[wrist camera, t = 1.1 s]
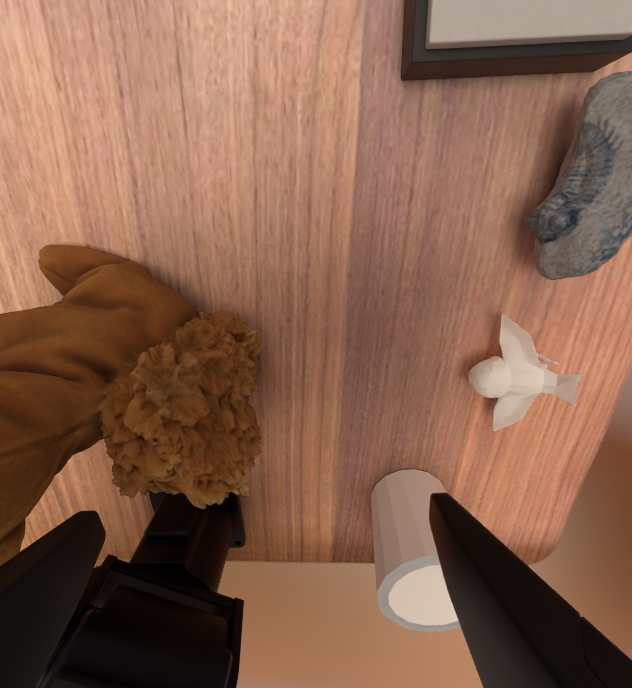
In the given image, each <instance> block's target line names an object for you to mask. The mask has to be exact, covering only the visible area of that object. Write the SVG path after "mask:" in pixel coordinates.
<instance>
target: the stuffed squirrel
mask: <svg viewBox="0 0 632 688" xmlns="http://www.w3.org/2000/svg"><path fill="white" fill-rule="evenodd" d="M39 257H40V258H39V261H38V263H39V267H40V269H41V271H42V272H43V274H44V275H45V276H46V278H47V279H48V280H49V281H50V282H51V283H52V285H53V286H54V287H55V288H56V289H57V290H58V291H59V292H60V293H61V294H62V295H63V298H62V301H59V302H56V303H55V304H54V305H51V306H45V307H38V308H33V309H27V310H22V311H17V312H9V313H3V314H0V566H1V565H2V564H4V563H5V562H7V561H8V560H9V559H11V558H12V557H14V556H15V555H17V554H18V553H20V548H21V544H22V540H23V538H24V535H25V518H26V517H27V516H28V515H29V514H30V512H31V511H32V509H33V508H34V507H35V505H36V504H37V503H38V501H39V500H40V498H41V497H42V495H43V494H44V492H45V491H46V489H47V488H48V486H49V485H50V483H51V481H52V479H53V477H54V476H55V475H56V474H57V473H59V472H60V471H61V470H62V468H63V467H64V466H65V464H66V463H67V461H68V460H69V459H70V458H71V456H72V455H74V454H76V453H79V452H82V451H84V450H86V449H88V448H90V447H91V446H93V445H94V444H95V443H97V442H98V441H99V440H101V439H105V442H106V447H107V451H106V453H107V454H108V455H109V457H110V458H112V459H113V460H114V465H113V466H112V472H113V474H112V475H114V479H112V481H113V484H115V485H116V487H117V486H119V487H120V495H121V496H122V495H125V496H128V497H130V499H131V498H133V497H134V496H135V495H136V493H137V492H138V491H139V490H140V491H141V492H142V494H144V495H147V494H149V491H148V489H149V490H150V491H151V492H153V493H154V494H155V493H159V492H165V491H167V493H170V492H171V494H173V495H174V494H178V493H180V492H181V493H184V494H185V495H186V497H187V498H188V500H189V501H190V502H191V503H192V504H193V505H194V506H196V507H198V508H201V509H205V508H206V504H208V505H209V506H210V505H213V504H214V503H219V504H221V503H223V502H222V501H224V499H225V497H227V498H228V495H229V493H226V492H233V493H235V494H237V495H239V494H242V495H243V496H244V497H246V496H250V493H249V488H250V487H249V484H248V483H249V480H250V473H249V471H251V470H250V468H251V467H257V466H256V465H255V463H254V461H253V460H254V459H255V458H254V457H257V456H258V455H259V454H260V453H261V452H262V450H261V449H260V445H261V442H260V440H261V437H260V433H259V431H260V427H259V426H258V425H257V419H256V414H255V410H254V408H253V407H252V406H251V405H250V404H249V403H248V401H249V396H250V397H251V395H252V393H253V391H258V390H259V389H258V388H257V387H256V386H255V385H256V383H257V379H256V374H257V372H256V370H257V365H256V363H255V362H254V361H257V358H256V357H257V356H258V355H259V354H260V352H261V351H263V350H262V349H260V345H261V343H259V342H258V341H259V338H260V337H259V334H258V333H259V329H257V331H252V329H251V328H249V327H248V325H247V324H246V323H245V322H242V320H241V319H240V318H238V317H237V316H238V313H236V314H231V313H228V312H226V311H222V312H219V311H218V312H216V313H215V314H214V315H213V316H212V315H211V314H207V313H205V312H203V313H202V311H201V312H200V313H199V314H200V317H199V315H198V313H197V311H196V310H195V309H194V308H193V307H192V306H191V305H190V304H189V303H188V302H186V301H185V300H184V299H182V298H181V297H180V296H179V295H177V294H176V293H175V292H174V291H172V290H171V289H169V288H168V287H166V286H165V285H163V284H162V283H161V282H160V281H158V280H157V279H155V278H154V277H153V276H152V275H151V274H150V273H148V272H147V271H146V270H145V269H144V268H143V267H142V266H140V265H139V264H137V263H134V262H132V261H129V260H127V259H123V258H120V257H117V256H115V255H111V254H107V253H104V252H101V251H97V250H93V249H88V248H84V247H77V246H65V245H47V246H45V247H43V248H42V249H41V250H40V252H39ZM158 489H159V490H158Z"/></svg>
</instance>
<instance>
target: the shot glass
mask: <svg viewBox="0 0 632 688" xmlns="http://www.w3.org/2000/svg"><path fill="white" fill-rule="evenodd" d="M442 492H445V493H446V491H445V489H444V488H443V486H442V484H441V482H440V481H439V480H438V479H437V478H436V477H434V476H433V475H431V474H430V473H428V472H424V471H420V470H416V469H410V470H399V471H396V472H394V473H391V474H389V475H386V476H385V477H384V478H383V479H381V480H380V481H379V482H378V483H377V484H376V485H375V487H374V489H373V491H372V493H371V512H372V527H373V541H374V556H375V569H376V570H375V571H376V584H377V600H378V607H379V609H380V610H381V611H382V612H383V614H384V615H385V617H386V618H387V619H388V620H390V621H392V622H393V623H395V624H397V625H399V626H401V627H402V628H406V629H411V630H416V631H421V632H437V631H449V630H452V629H455V628H459V627H461V626H460V623H459V621H458V618H457V615H456V613H455V610H454V607H453V604H452V602H451V599H450V596H449V593H448V590H447V587H446V583H445V580H444V576H443V572H442V569H441V565H440V561H439V557H438V554H437V550H436V546H435V542H434V539H433V535H432V531H431V527H430V523H429V506H430V496H431V494H432V493H442Z"/></svg>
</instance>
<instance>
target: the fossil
mask: <svg viewBox="0 0 632 688" xmlns="http://www.w3.org/2000/svg"><path fill="white" fill-rule="evenodd" d="M525 224H526V227H527V228H529V229H531V230H533V231H535V236H536V239H535V246H534V252H535V253H534V259H535V266H536V267H535V268H536V269H537V271H538V272H539V273H540V274H541V275H542V276H543V277H545V278H547V279H550V280H556V279H563V278H567V277H576V276H583V275H587V274H589V273H591V272H593V271H595V270H598V269H599V268H600V267H601V266H602V265H603V264H605V263H606V262H608V261H609V259H611V258H613V257H614V256H615V255H616V254H617V253H618V251H619V249H620V248H621V246H622V245H623V243H624V242H625V241H626V240H627V239H628V238H629V237H630V236H631V235H632V72H631V71H627V72H619V73H614V74H611V75H609V76H607V77H605V78H603V79H601V80H600V81H598V82H597V83H596V84H595V85H594V86H593V87H591V88H590V89H589V90H588V92H587V94H586V97H585V100H584V103H583V107H582V108H581V110H580V112H579V115H578V118H577V122H576V126H575V131H574V137H573V140H572V142H571V146H570V147H569V149H568V152H567V154H566V156H565V158H564V161H563V163H562V165H561V169H560V172H559V175H558V178H557V180H556V184H555V186H554V188H553V190H552V191H551V192H550V194H549V195H548V197H547V198H546V199H545V200H544V201H543V202H542V203H541V204H540V205H539V206H538V207H536V208H535V209H534V211H533V213H532V215H529V216H527V217H526V218H525Z"/></svg>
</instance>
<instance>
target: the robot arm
mask: <svg viewBox="0 0 632 688" xmlns="http://www.w3.org/2000/svg"><path fill="white" fill-rule="evenodd" d="M158 490H159V489H158ZM148 491H149V497H150V500H151V503H152V507H153V510H154V515H153V517H152V519H151V521H150V522H149V524H148V526H147V528H146V530H145V531H144V536H143V538H142V540H141V541H140V543H139V545H138V547H137V549H136V551H135V552H134V554H133V556H132V558H131V560H130V562H129V563H128V562H125V561H122V560H119V559H117V557H116V556H113V555H111V554H108V556H107V557H106V559H105V560H104V562H103V563H102V565H101V566H97V567H96V568H94V566H95V563H96V561H97V558H98V556H99V554H100V551H101V549H102V546H103V544H104V541H105V536H106V533H105V529H104V527H103V524H102V522H101V520H100V517H99V515H98V513H97V512H96V511H80V512H78V513H76V514H74V515H73V516H72V517H70V518H69V519H67V520H66V521H64V522H63V523H61V524H60V525H59V526H57V527H56V528H54V529H53V530H51V531H50V532H48V533H47V534H46V535H44V536H43V537H41V538H40V539H38V540H37V541H35V542H34V543H33V544H31V545H30V546H28V547H27V548H25V549H24V550H22V551H21V552H20V553H18V554H17V555H15V556H14V557H12V558H11V559H9V560H8V561H7V562H5V563H4V564H2V565H1V566H0V688H236V685H237V679H238V673H239V662H240V648H241V647H240V646H241V632H242V620H243V605H244V600H241V599H238V598H235V599H233V598H230V597H227V596H224V595H221V594H218V593H217V590H218V587H219V583H220V579H221V575H222V571H223V568H224V564H225V561H226V557H227V553H228V550H229V548H240V547H243V546H244V544H245V540H246V538H245V532H244V525H243V519H242V513H241V507H240V501H239V495H237V494H235V493H233V492H226V493H229V495H228V498H227V497H225V499H224V501H222V502H223V503H221V504H219V503H214V504H213V505H210V506H209V505H208V504H206V508H205V509H201V508H198V507H196V506H194V505H193V504H192V503H191V502H190V501H189V500H188V498H187V497H186V495H185V494H184V493H181V492H180V493H178V494H174V495H173V494H171V492H170V493H167V491H165V492H159V493H155V494H154V493H153V492H151V491H150V490H149V489H148ZM429 523H430V527H431V531H432V535H433V539H434V542H435V546H436V550H437V554H438V557H439V561H440V565H441V569H442V572H443V576H444V580H445V583H446V587H447V590H448V593H449V596H450V599H451V602H452V604H453V607H454V610H455V613H456V615H457V618H458V621H459V623H460V626H461V629H462V631H463V634H464V637H465V639H466V642H467V645H468V647H469V650H470V653H471V655H472V658H473V661H474V663H475V666H476V669H477V672H478V674H479V677H480V680H481V682H482V685H483V687H484V688H632V660H631V659H630V658H629V657H628V656H627V655H626V654H624V653H623V652H622V651H621V650H620V649H619V648H618V647H617V646H615V645H614V644H613V643H612V642H611V641H610V640H608V639H607V638H606V637H605V636H604V635H603V634H602V633H601V632H600V631H598V630H597V629H596V628H595V627H594V626H593V625H592V624H591V623H590V622H589V621H588V620H586V619H585V618H584V617H580V614H579V612H577V611H576V610H575V609H574V608H573V607H572V606H571V605H570V604H569V603H568V602H567V601H565V600H564V599H563V598H562V597H561V596H560V595H559V594H558V593H557V592H556V591H555V590H553V589H552V588H551V587H550V586H549V585H548V584H547V583H546V582H545V581H543V580H542V579H541V578H540V577H539V576H538V575H537V574H536V573H535V572H533V570H531V569H530V568H529V567H528V566H527V565H526V564H525V563H524V562H523V561H522V560H521V559H519V558H518V557H517V556H516V555H515V554H514V553H513V552H512V551H511V550H510V549H508V548H507V547H506V546H505V545H504V544H503V543H502V542H501V541H500V540H499V539H498V538H496V537H495V536H494V535H493V534H492V533H491V532H490V531H489V530H488V529H487V528H485V527H484V526H483V525H482V524H481V523H480V522H479V521H478V520H477V519H476V518H475V517H473V516H472V515H471V514H470V513H469V512H468V511H467V510H466V509H465V508H464V507H462V506H461V505H460V504H459V503H458V502H457V501H456V500H455V499H454V498H453V497H452V496H450V495H449V494H448V493H445V492H442V493H432V494H431V496H430V506H429Z"/></svg>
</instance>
